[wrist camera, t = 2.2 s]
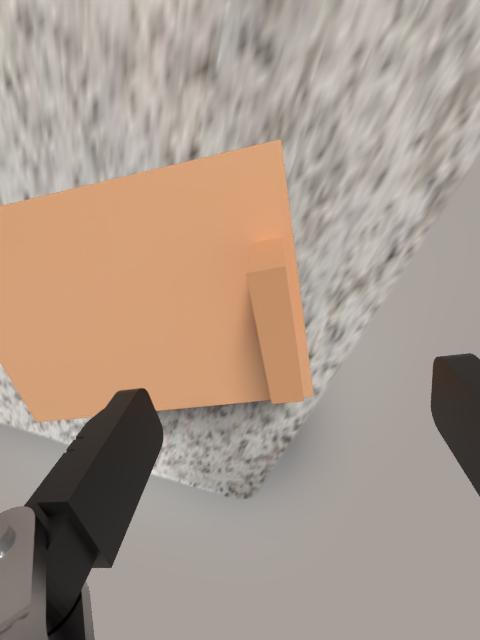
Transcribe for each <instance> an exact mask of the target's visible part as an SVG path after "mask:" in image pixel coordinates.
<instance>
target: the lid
mask: <svg viewBox="0 0 480 640" xmlns="http://www.w3.org/2000/svg"><path fill="white" fill-rule="evenodd" d="M0 363H1V365H2V366H3V368H4V370H5V371H6V373H7V375H8V376H9V378H10V380H11V381H12V383H13V384H14V386H15V388H16V389H17V391H18V393H19V394H20V396H21V398H22V399H23V401H24V402H25V404H26V406H27V407H28V409H29V411H30V412H31V414H32V416H33V417H34V419H35V420H36V422H45V421H55V420H66V419H76V418H87V417H94V416H95V415H96V414H98V413H99V412H100V411H101V410H102V409H105V407H106V406H107V404H108V403H109V402H110V400H111V399H112V398H113V396H114V395H115V394H116V392H118V391H120V390H129V389H138V388H144V389H146V390H147V391H148V393H149V395H150V398H151V400H152V403H153V405H154V408H155V410H156V411H161V410H171V409H182V408H192V407H203V406H213V405H224V404H234V403H245V402H255V401H266V400H271V402H272V404H278V403H288V402H299V401H304V397H308V396H313V388H312V380H311V372H310V365H309V357H308V349H307V341H306V333H305V325H304V317H303V310H302V302H301V294H300V286H299V278H298V270H297V262H296V255H295V247H294V239H293V231H292V223H291V215H290V207H289V199H288V192H287V184H286V176H285V168H284V160H283V152H282V144H281V139H280V140H275V141H271V142H267V143H263V144H259V145H254V146H250V147H246V148H242V149H238V150H233V151H229V152H225V153H221V154H217V155H212V156H208V157H204V158H200V159H196V160H192V161H187V162H183V163H179V164H175V165H171V166H166V167H162V168H158V169H154V170H150V171H145V172H141V173H137V174H133V175H129V176H124V177H120V178H116V179H112V180H108V181H103V182H99V183H95V184H91V185H87V186H83V187H78V188H74V189H70V190H66V191H62V192H57V193H53V194H49V195H45V196H41V197H36V198H32V199H28V200H24V201H20V202H15V203H11V204H7V205H3V206H0Z"/></svg>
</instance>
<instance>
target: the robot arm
mask: <svg viewBox="0 0 480 640" xmlns="http://www.w3.org/2000/svg"><path fill="white" fill-rule="evenodd" d="M431 411H432V416H433V419H434V422H435V425H436V427H437V428H438V431H439V432H440V434H441V435H442V437H443V438H444V440H445V442H446V443H447V445H448V447H449V448H450V450H451V451H452V453H453V454H454V456H455V458H456V459H457V461H458V462H459V464H460V466H461V467H462V469H463V470H464V472H465V474H466V475H467V477H468V478H469V480H470V481H471V483H472V485H473V486H474V488H475V490H476V491H477V493H478V494H479V496H480V359H479V358H477V357H476V356H475V355H473V354H471V353H469V354H460V355H450V356H441V357H436V358H435V360H434V364H433V377H432V393H431ZM162 443H163V428H162V425H161V422H160V420H159V417H158V415H157V413H156V410H155V408H154V405H153V403H152V400H151V398H150V395H149V393H148V391H147V390H146V389H144V388H138V389H129V390H120V391H118V392H116V394H115V395H114V396H113V398H112V399H111V400H110V402H109V403H108V404H107V406H106V407H105V409H102V410H101V411H100V412H99V413H98V414H96V415H95V416H94V417H93V418H92V419H90V420H89V421H88V422H87V423H86V424H85V426H84V427H83V428H82V430H81V431H80V432H79V434H78V435H77V436H76V440H73V442H72V443H71V444H70V446H69V447H68V448H67V452H66V453H64V454H63V455H62V457H61V458H60V459H59V460H58V462H57V463H56V464H55V466H54V467H53V468H52V470H51V471H50V472H49V474H48V475H47V476H46V478H45V479H44V480H43V482H42V483H41V484H40V486H39V487H38V488H37V490H36V491H35V492H34V494H33V495H32V496H31V498H30V499H29V500H28V502H27V503H26V504H25V505H24V506H22V507H15V508H12V509H9V510H7V511H4V512H2V513H1V514H0V640H95V639H94V630H93V620H92V610H91V601H90V593H89V592H90V591H89V587H88V585H87V583H86V579H87V576H88V575H89V572H90V570H91V568H111V567H112V565H113V563H114V560H115V558H116V555H117V553H118V551H119V548H120V546H121V543H122V541H123V539H124V536H125V534H126V531H127V529H128V527H129V524H130V522H131V519H132V517H133V515H134V512H135V510H136V507H137V505H138V503H139V500H140V498H141V495H142V493H143V491H144V488H145V486H146V483H147V481H148V478H149V476H150V474H151V471H152V469H153V466H154V464H155V462H156V459H157V457H158V454H159V452H160V450H161V447H162Z"/></svg>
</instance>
